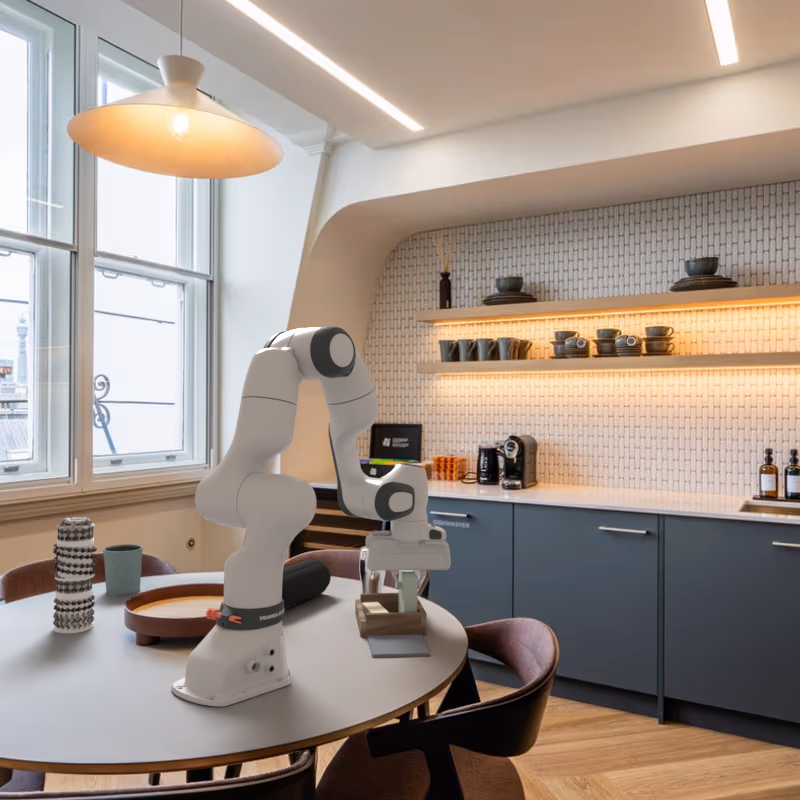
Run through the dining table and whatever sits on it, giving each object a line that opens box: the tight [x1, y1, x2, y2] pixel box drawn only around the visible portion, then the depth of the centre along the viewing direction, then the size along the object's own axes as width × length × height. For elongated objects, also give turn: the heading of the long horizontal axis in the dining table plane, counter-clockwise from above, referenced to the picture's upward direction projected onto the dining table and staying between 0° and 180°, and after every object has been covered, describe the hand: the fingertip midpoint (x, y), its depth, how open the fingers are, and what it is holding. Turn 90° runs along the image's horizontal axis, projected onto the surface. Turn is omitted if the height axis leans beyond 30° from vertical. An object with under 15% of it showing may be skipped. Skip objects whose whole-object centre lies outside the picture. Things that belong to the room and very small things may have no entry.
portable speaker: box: [282, 558, 332, 610], centre depth 187 cm, size 26×10×10 cm, turn 153°
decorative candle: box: [52, 516, 98, 635], centre depth 164 cm, size 9×9×25 cm
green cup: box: [102, 543, 144, 597], centre depth 196 cm, size 10×10×12 cm
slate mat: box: [366, 634, 430, 658], centre depth 155 cm, size 12×12×1 cm
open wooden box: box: [354, 592, 428, 638], centre depth 171 cm, size 18×15×5 cm
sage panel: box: [397, 570, 419, 613], centre depth 172 cm, size 11×3×12 cm, turn 7°
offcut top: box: [362, 602, 389, 616], centre depth 171 cm, size 11×4×2 cm, turn 18°
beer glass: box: [358, 545, 387, 593], centre depth 186 cm, size 7×7×15 cm
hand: (407, 588), depth 172 cm, fingers closed on sage panel, 3 cm apart
